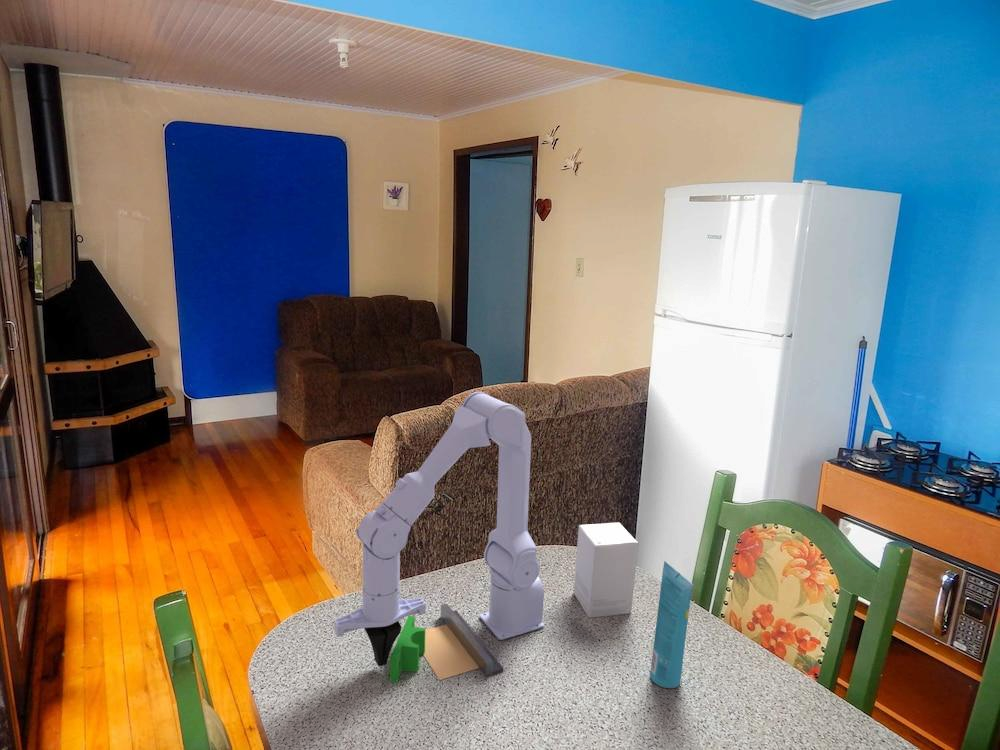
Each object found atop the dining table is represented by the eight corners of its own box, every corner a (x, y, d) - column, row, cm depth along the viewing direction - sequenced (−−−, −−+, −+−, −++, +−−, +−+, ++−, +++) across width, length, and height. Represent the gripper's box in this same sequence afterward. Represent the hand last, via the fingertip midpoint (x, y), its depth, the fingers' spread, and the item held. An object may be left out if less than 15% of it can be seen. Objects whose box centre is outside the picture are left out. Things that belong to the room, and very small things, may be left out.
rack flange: (456, 613, 121) (456, 601, 121) (503, 671, 106) (504, 657, 105) (404, 627, 116) (404, 614, 116) (446, 690, 101) (446, 676, 100)
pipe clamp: (413, 685, 102) (413, 659, 101) (389, 682, 102) (389, 657, 101) (429, 640, 113) (429, 617, 112) (408, 638, 113) (408, 615, 112)
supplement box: (632, 614, 123) (640, 542, 120) (588, 619, 121) (594, 546, 118) (614, 588, 132) (620, 521, 129) (572, 592, 130) (577, 523, 127)
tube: (691, 689, 104) (705, 581, 100) (668, 697, 102) (681, 587, 97) (661, 661, 110) (673, 558, 106) (638, 668, 108) (649, 564, 104)
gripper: (414, 564, 109) (413, 636, 112) (328, 584, 102) (329, 659, 105) (431, 585, 103) (429, 660, 106) (340, 607, 96) (341, 687, 99)
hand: (380, 661), depth 105 cm, fingers closed
